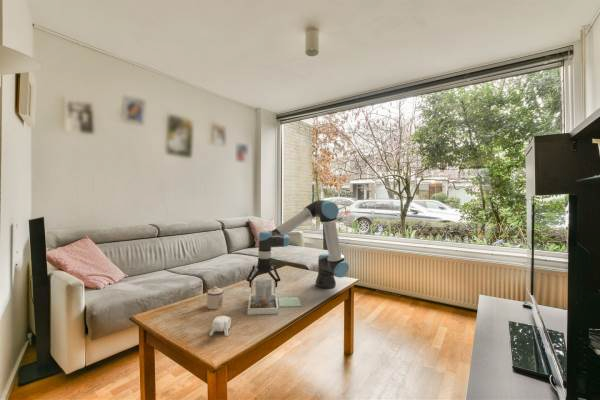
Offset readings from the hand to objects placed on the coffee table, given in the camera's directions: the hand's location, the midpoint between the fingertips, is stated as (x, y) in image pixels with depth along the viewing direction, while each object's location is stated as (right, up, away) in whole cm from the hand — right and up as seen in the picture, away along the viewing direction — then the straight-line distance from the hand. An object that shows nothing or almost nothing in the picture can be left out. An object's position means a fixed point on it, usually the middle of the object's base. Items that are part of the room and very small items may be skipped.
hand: (263, 292), depth 165 cm
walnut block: (+1, -7, -9) cm, 12 cm away
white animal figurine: (-16, -8, -35) cm, 39 cm away
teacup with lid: (-28, -7, -4) cm, 29 cm away
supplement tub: (0, -7, 0) cm, 7 cm away
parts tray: (0, -7, -3) cm, 8 cm away
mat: (+16, -7, +4) cm, 18 cm away
